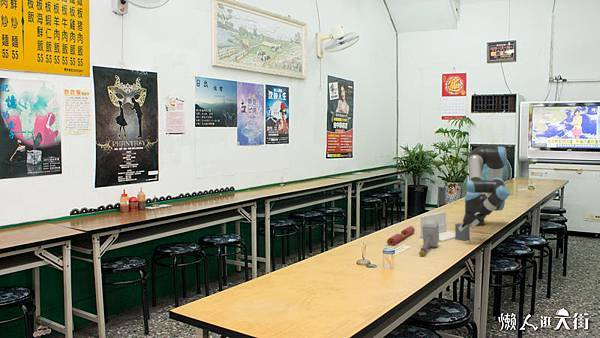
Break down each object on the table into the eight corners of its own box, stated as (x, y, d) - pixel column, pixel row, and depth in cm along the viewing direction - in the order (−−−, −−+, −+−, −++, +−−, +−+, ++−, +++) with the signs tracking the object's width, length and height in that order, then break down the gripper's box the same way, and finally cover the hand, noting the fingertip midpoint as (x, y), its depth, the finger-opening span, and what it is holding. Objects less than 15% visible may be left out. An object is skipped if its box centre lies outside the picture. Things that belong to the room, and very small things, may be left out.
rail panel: (443, 232, 351) (443, 211, 350) (465, 235, 339) (465, 214, 338) (420, 238, 334) (420, 216, 333) (442, 241, 322) (442, 219, 321)
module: (459, 238, 330) (459, 221, 330) (469, 240, 325) (469, 222, 324) (455, 239, 327) (455, 222, 326) (465, 241, 322) (465, 223, 321)
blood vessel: (407, 233, 352) (407, 225, 352) (414, 233, 350) (414, 226, 350) (387, 245, 316) (386, 237, 315) (394, 246, 313) (394, 238, 313)
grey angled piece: (428, 242, 282) (438, 219, 308) (413, 241, 286) (424, 219, 311) (429, 266, 287) (439, 242, 313) (415, 265, 290) (426, 241, 316)
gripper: (481, 214, 301) (458, 236, 313) (502, 208, 317) (479, 230, 329) (473, 204, 304) (450, 226, 316) (494, 199, 321) (472, 220, 333)
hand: (465, 228), depth 323 cm, fingers open, 13 cm apart
